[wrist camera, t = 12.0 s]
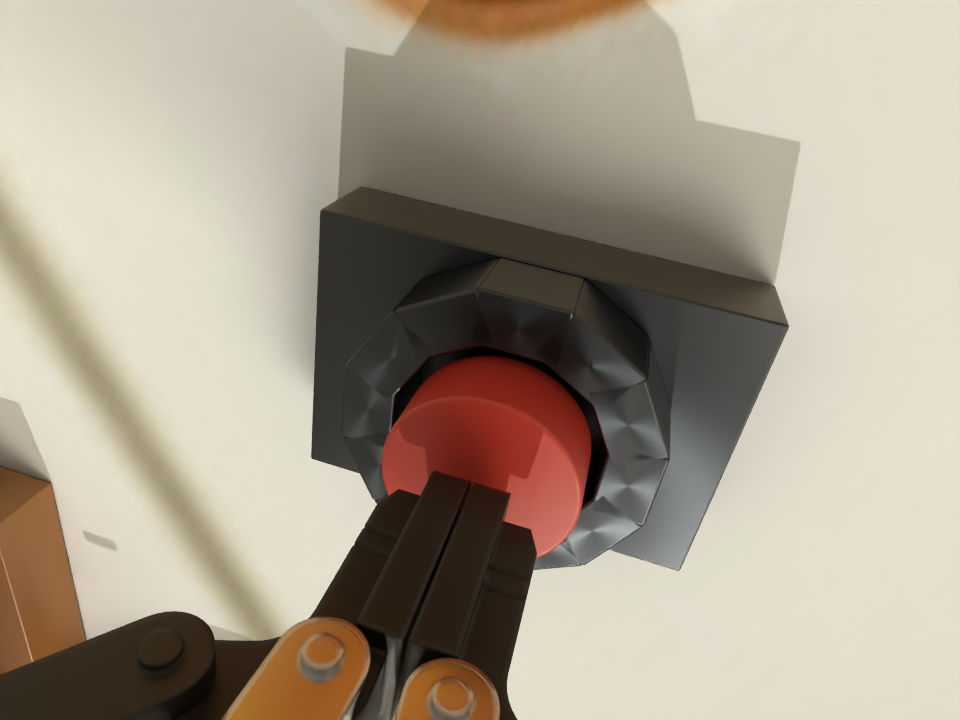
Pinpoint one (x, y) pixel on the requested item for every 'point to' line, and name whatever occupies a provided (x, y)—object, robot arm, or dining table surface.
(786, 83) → the dining table surface
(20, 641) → the oak panel
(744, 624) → the dining table surface
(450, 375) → the button
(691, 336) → the button block
